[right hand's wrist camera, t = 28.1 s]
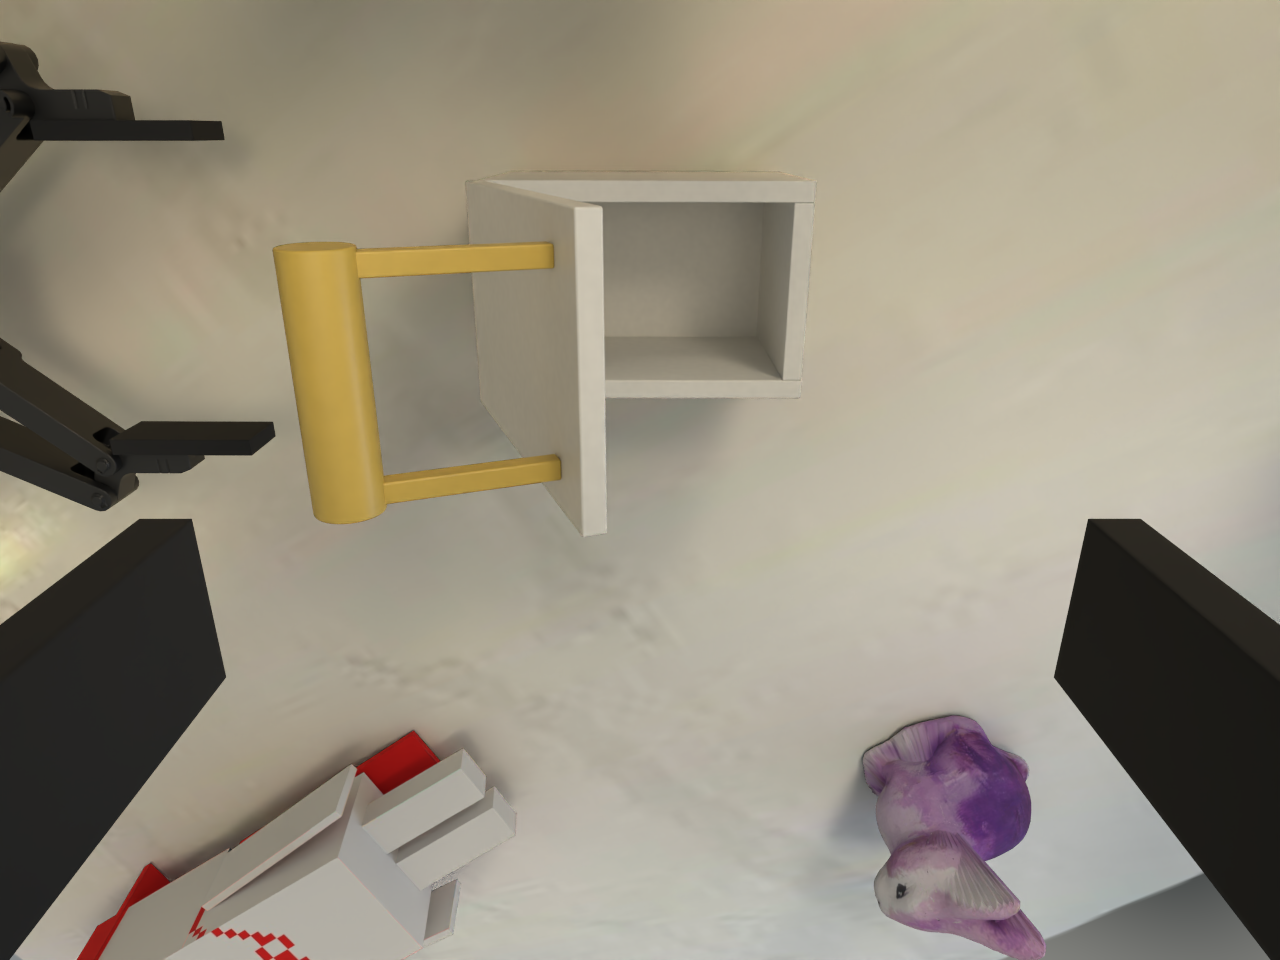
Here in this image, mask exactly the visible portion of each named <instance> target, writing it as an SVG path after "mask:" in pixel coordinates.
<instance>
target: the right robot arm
mask: <svg viewBox="0 0 1280 960" xmlns="http://www.w3.org/2000/svg"><path fill="white" fill-rule="evenodd" d="M225 678H226V675H225V670H224V665H223V661H222V656H221V651H220V647H219V642H218V638H217V633H216V628H215V624H214V619H213V615H212V610H211V605H210V601H209V596H208V591H207V587H206V582H205V578H204V573H203V568H202V564H201V559H200V555H199V550H198V545H197V541H196V536H195V531H194V527H193V522H192V519H139V520H137V521H136V522H135V523H134V524H132V525H131V526H130V527H128V528H127V529H126V530H124V531H123V532H122V533H120V534H119V535H118V536H116V537H115V538H114V539H112V540H111V541H110V542H109V543H107V544H106V545H105V546H103V547H102V548H101V549H99V550H98V551H97V552H95V553H94V554H93V555H91V556H90V557H89V558H88V559H86V560H85V561H84V562H82V563H81V564H80V565H78V566H77V567H76V568H74V569H73V570H72V571H70V572H69V573H68V574H67V575H65V576H64V577H63V578H61V579H60V580H59V581H57V582H56V583H55V584H53V585H52V586H51V587H49V588H48V589H47V590H46V591H44V592H43V593H42V594H40V595H39V596H38V597H36V598H35V599H34V600H32V601H31V602H30V603H28V604H27V605H26V606H25V607H23V608H22V609H21V610H19V611H18V612H17V613H15V614H14V615H13V616H11V617H10V618H9V619H7V620H6V621H5V622H4V623H2V624H1V625H0V960H10V958H11V957H12V956H13V954H14V953H15V952H16V950H17V949H18V948H19V947H20V945H21V944H22V943H23V941H24V940H25V939H26V937H27V936H28V935H29V934H30V932H31V931H32V930H33V928H34V927H35V926H36V924H37V923H38V922H39V920H40V919H41V918H42V917H43V915H44V914H45V913H46V911H47V910H48V909H49V907H50V906H51V905H52V904H53V902H54V901H55V900H56V898H57V897H58V896H59V894H60V893H61V892H62V890H63V889H64V888H65V887H66V885H67V884H68V883H69V881H70V880H71V879H72V877H73V876H74V875H75V874H76V872H77V871H78V870H79V868H80V867H81V866H82V864H83V863H84V862H85V861H86V859H87V858H88V857H89V855H90V854H91V853H92V851H93V850H94V849H95V847H96V846H97V845H98V844H99V842H100V841H101V840H102V838H103V837H104V836H105V834H106V833H107V832H108V831H109V829H110V828H111V827H112V825H113V824H114V823H115V821H116V820H117V819H118V817H119V816H120V815H121V814H122V812H123V811H124V810H125V808H126V807H127V806H128V804H129V803H130V802H131V801H132V799H133V798H134V797H135V795H136V794H137V793H138V791H139V790H140V789H141V788H142V786H143V785H144V784H145V782H146V781H147V780H148V778H149V777H150V776H151V774H152V773H153V772H154V771H155V769H156V768H157V767H158V765H159V764H160V763H161V761H162V760H163V759H164V758H165V756H166V755H167V754H168V752H169V751H170V750H171V748H172V747H173V746H174V744H175V743H176V742H177V741H178V739H179V738H180V737H181V735H182V734H183V733H184V731H185V730H186V729H187V728H188V726H189V725H190V724H191V722H192V721H193V720H194V718H195V717H196V716H197V715H198V713H199V712H200V711H201V709H202V708H203V707H204V705H205V704H206V703H207V701H208V700H209V699H210V698H211V696H212V695H213V694H214V692H215V691H216V690H217V688H218V687H219V686H220V685H221V683H222V682H223V681H224V679H225ZM1054 678H1055V679H1056V681H1057V682H1058V683H1059V685H1060V686H1061V687H1062V688H1063V690H1064V691H1065V692H1066V694H1067V695H1068V696H1069V698H1070V699H1071V700H1072V701H1073V703H1074V704H1075V705H1076V707H1077V708H1078V709H1079V711H1080V712H1081V713H1082V715H1083V716H1084V717H1085V718H1086V720H1087V721H1088V722H1089V724H1090V725H1091V726H1092V728H1093V729H1094V730H1095V731H1096V733H1097V734H1098V735H1099V737H1100V738H1101V739H1102V741H1103V742H1104V743H1105V744H1106V746H1107V747H1108V748H1109V750H1110V751H1111V752H1112V754H1113V755H1114V756H1115V758H1116V759H1117V760H1118V761H1119V763H1120V764H1121V765H1122V767H1123V768H1124V769H1125V771H1126V772H1127V773H1128V774H1129V776H1130V777H1131V778H1132V780H1133V781H1134V782H1135V784H1136V785H1137V786H1138V788H1139V789H1140V790H1141V791H1142V793H1143V794H1144V795H1145V797H1146V798H1147V799H1148V801H1149V802H1150V803H1151V804H1152V806H1153V807H1154V808H1155V810H1156V811H1157V812H1158V814H1159V815H1160V816H1161V817H1162V819H1163V820H1164V821H1165V823H1166V824H1167V825H1168V827H1169V828H1170V829H1171V831H1172V832H1173V833H1174V834H1175V836H1176V837H1177V838H1178V840H1179V841H1180V842H1181V844H1182V845H1183V846H1184V847H1185V849H1186V850H1187V851H1188V853H1189V854H1190V855H1191V857H1192V858H1193V859H1194V861H1195V862H1196V863H1197V864H1198V866H1199V867H1200V868H1201V870H1202V871H1203V872H1204V874H1205V875H1206V876H1207V877H1208V879H1209V880H1210V881H1211V883H1212V884H1213V885H1214V887H1215V888H1216V889H1217V890H1218V892H1219V893H1220V894H1221V896H1222V897H1223V898H1224V900H1225V901H1226V902H1227V904H1228V905H1229V906H1230V907H1231V909H1232V910H1233V911H1234V913H1235V914H1236V915H1237V917H1238V918H1239V919H1240V920H1241V922H1242V923H1243V924H1244V926H1245V927H1246V928H1247V930H1248V931H1249V932H1250V934H1251V935H1252V936H1253V937H1254V939H1255V940H1256V941H1257V943H1258V944H1259V945H1260V947H1261V948H1262V949H1263V950H1264V952H1265V953H1266V954H1267V956H1268V957H1269V958H1270V960H1280V625H1279V624H1278V623H1276V622H1275V621H1274V620H1273V619H1271V618H1270V617H1269V616H1267V615H1266V614H1265V613H1263V612H1262V611H1261V610H1259V609H1258V608H1257V607H1255V606H1254V605H1253V604H1252V603H1250V602H1249V601H1248V600H1246V599H1245V598H1244V597H1242V596H1241V595H1240V594H1238V593H1237V592H1236V591H1234V590H1233V589H1232V588H1231V587H1229V586H1228V585H1227V584H1225V583H1224V582H1223V581H1221V580H1220V579H1219V578H1217V577H1216V576H1215V575H1213V574H1212V573H1211V572H1210V571H1208V570H1207V569H1206V568H1204V567H1203V566H1202V565H1200V564H1199V563H1198V562H1196V561H1195V560H1194V559H1192V558H1191V557H1190V556H1189V555H1187V554H1186V553H1185V552H1183V551H1182V550H1181V549H1179V548H1178V547H1177V546H1175V545H1174V544H1173V543H1171V542H1170V541H1169V540H1168V539H1166V538H1165V537H1164V536H1162V535H1161V534H1160V533H1158V532H1157V531H1156V530H1154V529H1153V528H1152V527H1150V526H1149V525H1148V524H1147V523H1145V522H1144V521H1143V520H1141V519H1088V522H1087V527H1086V531H1085V536H1084V541H1083V545H1082V550H1081V555H1080V559H1079V564H1078V568H1077V573H1076V578H1075V582H1074V587H1073V591H1072V596H1071V601H1070V605H1069V610H1068V615H1067V619H1066V624H1065V628H1064V633H1063V638H1062V642H1061V647H1060V651H1059V656H1058V661H1057V665H1056V670H1055V675H1054Z"/></svg>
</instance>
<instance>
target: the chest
mask: <svg viewBox="0 0 1280 960" xmlns="http://www.w3.org/2000/svg"><path fill="white" fill-rule="evenodd" d="M479 180H483V181H488V182H492V183H497V184H502V185H506V186H511V187H515V188H520V189H525V190H529V191H534V192H538V193H543V194H547V195H552V196H557V197H561V198H566V199H570V200H575V201H580V202H584V203H589V204H593V205H598V206H601V207H602V209H603V269H604V343H605V398H800V393H801V379H802V369H803V356H804V342H805V329H806V316H807V303H808V290H809V276H810V263H811V250H812V237H813V223H814V210H815V203H814V202H815V197H816V184H817V182H816V181H815V180H811V179H807V178H803V177H799V176H794V175H790V174H786V173H782V172H690V171H510V172H506V173H502V174H498V175H494V176H491V177H487V178H483V179H479Z"/></svg>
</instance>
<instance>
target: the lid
mask: <svg viewBox="0 0 1280 960" xmlns="http://www.w3.org/2000/svg"><path fill="white" fill-rule="evenodd" d="M465 186H466V200H467V215H468V229H469V243H470V244H468V245H443V246H419V247H394V248H369V249H357V247H356V245H354V244H351V243H344V242H306V243H293V244H285V245H280V246H276V247H274V248H273V256H274V262H275V269H276V275H277V282H278V288H279V295H280V301H281V307H282V314H283V320H284V327H285V333H286V340H287V346H288V353H289V359H290V365H291V372H292V378H293V385H294V391H295V398H296V404H297V411H298V417H299V424H300V430H301V436H302V443H303V449H304V456H305V462H306V469H307V475H308V482H309V488H310V494H311V501H312V507H313V514H314V516H315V517H316V519H318V520H319V521H322V522H325V523H330V524H351V523H357V522H362V521H366V520H369V519H372V518H374V517H376V516H378V515H380V514H381V513H383V512H384V511H385V509H386V507H387V504H391V503H398V502H405V501H412V500H420V499H427V498H434V497H441V496H448V495H456V494H463V493H470V492H477V491H484V490H491V489H499V488H506V487H513V486H520V485H527V484H534V483H542V484H543V485H544V486H545V488H546V489H547V490H548V492H549V493H550V494H551V496H552V497H553V498H554V500H555V501H556V502H557V504H558V505H559V506H560V508H561V509H562V510H563V512H564V513H565V514H566V516H567V517H568V518H569V520H570V521H571V522H572V524H573V525H574V526H575V528H576V529H577V530H578V532H579V533H580V534H581V536H582V537H589V536H595V535H601V534H606V533H607V491H606V417H605V343H604V269H603V209H602V207H601V206H598V205H593V204H589V203H584V202H580V201H575V200H570V199H566V198H561V197H557V196H552V195H547V194H543V193H538V192H534V191H529V190H525V189H520V188H515V187H511V186H506V185H502V184H497V183H492V182H488V181H483V180H475V181H466V182H465ZM455 273H472V286H473V300H474V314H475V328H476V342H477V356H478V371H479V385H480V399H481V403H482V404H483V405H484V407H485V408H486V409H487V411H488V412H489V413H490V415H491V416H492V417H493V419H494V420H495V421H496V423H497V424H498V425H499V427H500V428H501V429H502V431H503V432H504V433H505V435H506V436H507V437H508V438H509V440H510V441H511V442H512V444H513V445H514V446H515V448H516V449H517V450H518V452H519V453H520V454H521V456H522V457H523V458H518V459H511V460H503V461H495V462H487V463H479V464H472V465H464V466H456V467H448V468H440V469H433V470H425V471H417V472H409V473H401V474H394V475H386V476H384V474H383V466H382V457H381V449H380V440H379V432H378V424H377V415H376V407H375V398H374V390H373V382H372V373H371V365H370V356H369V348H368V340H367V331H366V323H365V314H364V306H363V298H362V289H361V281H360V278H378V277H397V276H416V275H436V274H455Z"/></svg>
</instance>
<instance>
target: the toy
mask: <svg viewBox="0 0 1280 960" xmlns="http://www.w3.org/2000/svg"><path fill="white" fill-rule="evenodd" d="M485 786H486V775H485V774H484V773H483V771H482V770H481V769H480V768H479V766H478V765H477V764H476V763H475V762H474V760H473V759H472V758H471V757H470V755H469V754H468V753H467V752H466V750H465V749H464V748H462V749H461V750H459V751H457V752H456V753H454V754H452V755H451V756H449V757H447V758H445V759H444V760H442V761H440V760H439V759H438V758H437V757H436V756H435V754H434V753H433V752H432V751H431V750H430V749H429V748H428V746H427V745H426V744H425V743H424V742H423V741H422V740H421V738H420V737H419V736H418V735H417V734H416V733H415V732H414V731H412V732H411V733H409V734H408V735H406V736H404V737H403V738H401V739H400V740H398V741H397V742H395V743H393V744H392V745H390V746H389V747H387V748H386V749H384V750H383V751H381V752H379V753H378V754H376V755H375V756H373V757H372V758H370V759H369V760H367V761H365V762H364V763H362V764H361V765H359V766H358V767H354V766H353V765H352V764H351V765H349V766H348V767H346V768H345V769H344V770H342V771H341V772H340V773H338V774H337V775H335V776H334V777H333V778H331V779H330V780H328V781H327V782H326V783H324V784H323V785H321V786H320V787H319V788H317V789H316V790H315V791H313V792H312V793H310V794H309V795H308V796H306V797H305V798H303V799H302V800H301V801H299V802H298V803H296V804H295V805H294V806H292V807H291V808H289V809H288V810H287V811H285V812H284V813H283V814H281V815H280V816H278V817H277V818H276V819H274V820H273V821H271V822H270V823H269V824H267V825H266V826H264V827H262V828H261V829H259V830H258V831H256V832H255V833H253V834H251V835H250V836H248V837H247V838H245V839H244V840H242V841H241V842H240V844H239V845H238V846H237V847H235V848H234V849H231V848H228V849H227V850H225V851H223V852H221V853H220V854H218V855H216V856H215V857H213V858H211V859H210V860H208V861H206V862H205V863H203V864H201V865H200V866H198V867H196V868H194V869H193V870H191V871H189V872H188V873H186V874H184V875H183V876H181V877H179V878H178V879H176V880H174V881H173V882H170V881H169V880H168V879H167V878H166V877H165V876H163V875H162V874H161V873H160V872H159V871H158V870H157V869H156V868H155V867H154V866H153V865H152V864H151V863H150V864H149V865H147V866H145V867H144V869H143V871H142V872H141V874H140V876H139V877H138V879H137V881H136V882H135V884H134V886H133V887H132V889H131V891H130V892H129V894H128V896H127V897H126V899H125V901H124V902H123V904H122V906H121V908H120V909H119V911H118V913H117V914H116V915H115V916H113V917H112V918H110V919H108V920H107V921H105V922H103V923H102V924H100V925H98V926H97V928H96V929H95V931H94V932H93V934H92V936H91V937H90V939H89V941H88V942H87V944H86V946H85V947H84V949H83V950H82V952H81V954H80V955H79V957H78V959H77V960H403V959H405V958H406V957H408V956H410V955H411V954H413V953H415V952H417V951H418V950H420V949H422V948H425V947H427V946H429V945H431V944H433V943H435V942H438V941H440V940H442V939H444V938H446V937H448V936H450V935H453V932H454V925H455V919H456V913H457V906H458V900H459V893H460V887H461V884H460V883H459V881H458V880H457V879H456V880H454V881H452V882H450V883H448V884H446V885H444V886H441V887H439V888H437V889H435V890H433V891H431V890H432V884H433V883H434V882H436V881H438V880H439V879H441V878H443V877H444V876H446V875H448V874H450V873H451V872H453V871H455V870H457V869H458V868H460V867H462V866H463V865H465V864H467V863H469V862H470V861H472V860H474V859H475V858H477V857H479V856H481V855H482V854H484V853H486V852H488V851H489V850H491V849H493V848H494V847H496V846H498V845H500V844H501V843H503V842H505V841H507V840H508V839H510V838H512V837H513V836H515V835H516V812H515V811H514V810H513V808H512V807H511V806H510V805H509V803H508V802H507V801H506V800H505V798H504V797H503V796H502V795H501V794H500V792H499V791H498V790H497V789H496V787H495V786H494V787H492V788H490V789H489V790H487V791H485Z"/></svg>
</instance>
